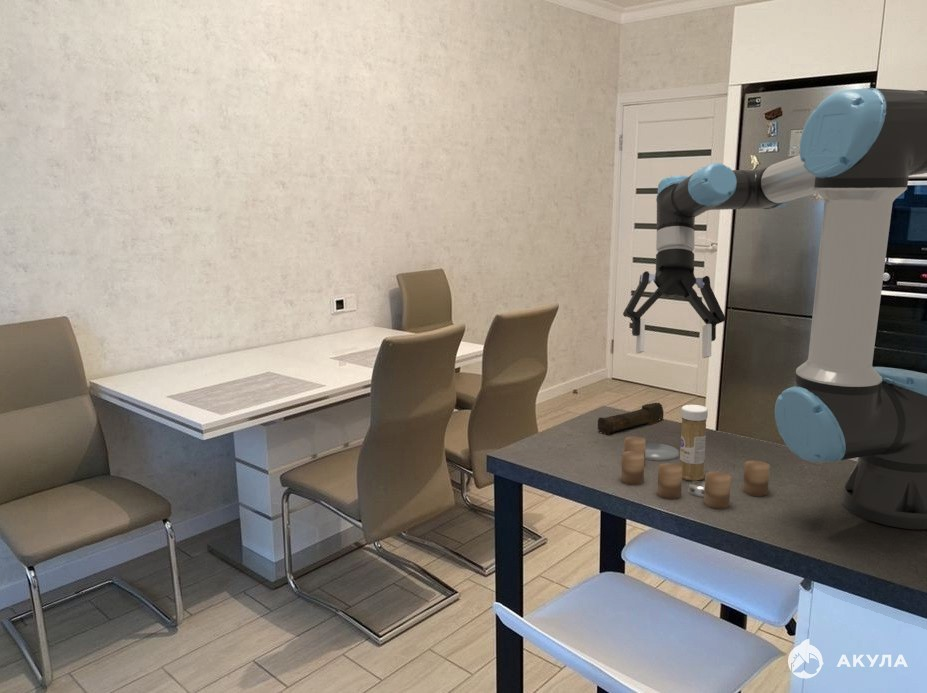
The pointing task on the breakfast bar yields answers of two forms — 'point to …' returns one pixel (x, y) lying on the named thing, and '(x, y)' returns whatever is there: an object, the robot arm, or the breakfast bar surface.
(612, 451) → the breakfast bar surface
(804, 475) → the breakfast bar surface
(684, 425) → the sprinkles bottle
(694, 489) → the silver rounded piece
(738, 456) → the breakfast bar surface
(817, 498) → the breakfast bar surface
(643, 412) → the dark brown elongated piece
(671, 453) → the coaster
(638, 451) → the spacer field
